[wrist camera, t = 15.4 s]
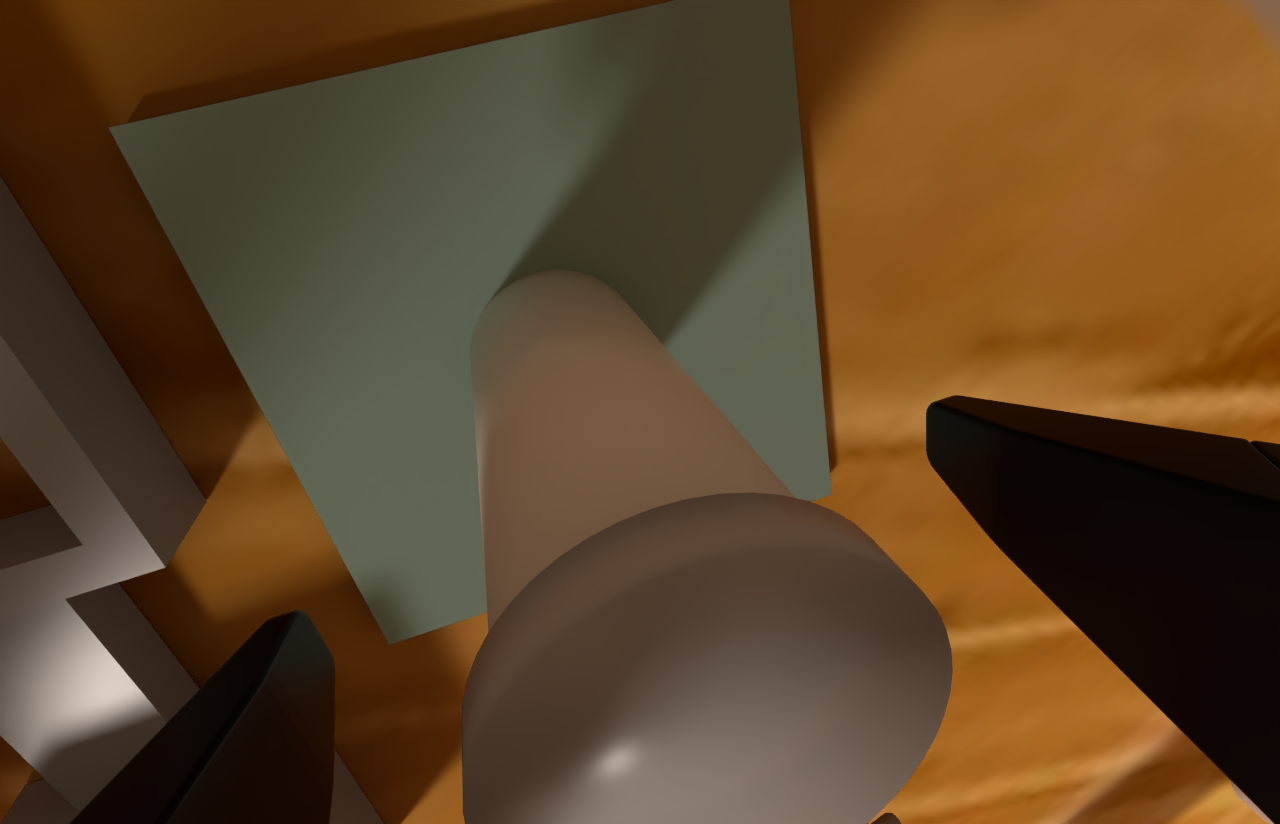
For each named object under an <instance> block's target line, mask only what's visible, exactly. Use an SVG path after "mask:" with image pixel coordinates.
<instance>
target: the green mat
mask: <svg viewBox="0 0 1280 824" xmlns="http://www.w3.org/2000/svg"><path fill="white" fill-rule="evenodd" d="M109 130H110V132H111V134H112V135H113V137H114V139H115V141H116V143H117V145H118V146H119V148H120V150H121V152H122V154H123V156H124V158H125V159H126V161H127V163H128V165H129V167H130V169H131V170H132V172H133V174H134V176H135V178H136V180H137V182H138V183H139V185H140V187H141V189H142V191H143V193H144V194H145V196H146V198H147V200H148V202H149V204H150V205H151V207H152V209H153V211H154V213H155V215H156V217H157V218H158V220H159V222H160V224H161V226H162V228H163V229H164V231H165V233H166V235H167V237H168V239H169V240H170V242H171V244H172V246H173V248H174V250H175V252H176V253H177V255H178V257H179V259H180V261H181V263H182V264H183V266H184V268H185V270H186V272H187V274H188V276H189V277H190V279H191V281H192V283H193V285H194V287H195V288H196V290H197V292H198V294H199V296H200V298H201V299H202V301H203V303H204V305H205V307H206V309H207V311H208V312H209V314H210V316H211V318H212V320H213V322H214V323H215V325H216V327H217V329H218V331H219V333H220V334H221V336H222V338H223V340H224V342H225V344H226V346H227V347H228V349H229V351H230V353H231V355H232V357H233V358H234V360H235V362H236V364H237V366H238V368H239V369H240V371H241V373H242V375H243V377H244V379H245V381H246V382H247V384H248V386H249V388H250V390H251V392H252V393H253V395H254V397H255V399H256V401H257V403H258V405H259V406H260V408H261V410H262V412H263V414H264V416H265V417H266V419H267V421H268V423H269V425H270V427H271V428H272V430H273V432H274V434H275V436H276V438H277V440H278V441H279V443H280V445H281V447H282V449H283V451H284V452H285V454H286V456H287V458H288V460H289V462H290V463H291V465H292V467H293V469H294V471H295V473H296V475H297V476H298V478H299V480H300V482H301V484H302V486H303V487H304V489H305V491H306V493H307V495H308V497H309V498H310V500H311V502H312V504H313V506H314V508H315V510H316V511H317V513H318V515H319V517H320V519H321V521H322V522H323V524H324V526H325V528H326V530H327V532H328V534H329V535H330V537H331V539H332V541H333V543H334V545H335V546H336V548H337V550H338V552H339V554H340V556H341V557H342V559H343V561H344V563H345V565H346V567H347V569H348V570H349V572H350V574H351V576H352V578H353V580H354V581H355V583H356V585H357V587H358V589H359V591H360V592H361V594H362V596H363V598H364V600H365V602H366V604H367V605H368V607H369V609H370V611H371V613H372V615H373V616H374V618H375V620H376V622H377V624H378V626H379V627H380V629H381V631H382V633H383V635H384V637H385V639H386V640H387V642H388V644H389V645H391V644H394V643H397V642H400V641H403V640H406V639H409V638H412V637H415V636H418V635H421V634H424V633H426V632H429V631H432V630H435V629H438V628H441V627H444V626H447V625H450V624H453V623H456V622H459V621H462V620H465V619H467V618H470V617H473V616H476V615H479V614H482V613H485V612H487V598H486V583H485V568H484V554H483V539H482V524H481V510H480V495H479V480H478V465H477V451H476V436H475V421H474V406H473V392H472V377H471V362H470V347H471V340H472V335H473V332H474V328H475V325H476V323H477V321H478V319H479V317H480V315H481V313H482V312H483V310H484V309H485V307H486V305H487V304H488V303H489V302H490V301H491V300H492V298H493V297H494V296H495V295H496V294H498V293H499V292H500V291H501V290H502V289H503V288H505V287H506V286H508V285H509V284H511V283H512V282H514V281H516V280H518V279H520V278H522V277H524V276H527V275H530V274H533V273H537V272H541V271H546V270H571V271H576V272H581V273H584V274H587V275H590V276H593V277H595V278H597V279H599V280H601V281H603V282H604V283H606V284H607V285H609V286H610V287H612V288H613V289H614V290H615V291H616V292H617V293H618V294H619V295H620V296H621V297H622V298H623V299H624V300H625V301H626V303H627V304H628V305H629V306H630V307H631V308H632V310H633V311H634V312H635V313H636V314H637V315H638V316H639V318H640V319H641V320H642V321H643V322H644V323H645V325H646V326H647V327H648V328H649V329H650V330H651V331H652V333H653V334H654V335H655V336H656V337H657V338H658V340H659V341H660V342H661V343H662V344H663V345H664V347H665V348H666V349H667V350H668V351H669V352H670V353H671V355H672V356H673V357H674V358H675V359H676V360H677V362H678V363H679V364H680V365H681V366H682V367H683V369H684V370H685V371H686V372H687V373H688V374H689V375H690V377H691V378H692V379H693V380H694V381H695V382H696V384H697V385H698V386H699V387H700V388H701V389H702V390H703V392H704V393H705V394H706V395H707V396H708V397H709V399H710V400H711V401H712V402H713V403H714V404H715V406H716V407H717V408H718V409H719V410H720V411H721V412H722V414H723V415H724V416H725V417H726V418H727V419H728V421H729V422H730V423H731V424H732V425H733V426H734V427H735V429H736V430H737V431H738V432H739V433H740V434H741V436H742V437H743V438H744V439H745V440H746V441H747V443H748V444H749V445H750V446H751V447H752V448H753V449H754V451H755V452H756V453H757V454H758V455H759V456H760V458H761V459H762V460H763V461H764V462H765V463H766V465H767V466H768V467H769V468H770V469H771V470H772V471H773V473H774V474H775V475H776V476H777V477H778V478H779V480H780V481H781V482H782V483H783V484H784V485H785V486H786V488H787V489H788V490H789V491H790V492H791V493H792V495H793V496H794V497H795V498H797V499H802V500H806V501H810V502H811V501H814V500H816V499H819V498H822V497H825V496H828V495H831V494H832V492H831V480H830V468H829V457H828V445H827V433H826V422H825V410H824V398H823V386H822V375H821V363H820V351H819V340H818V328H817V316H816V304H815V293H814V281H813V269H812V257H811V246H810V234H809V222H808V211H807V199H806V187H805V175H804V164H803V152H802V140H801V129H800V117H799V105H798V93H797V82H796V70H795V58H794V46H793V35H792V23H791V11H790V0H674V1H670V2H665V3H661V4H656V5H652V6H647V7H643V8H639V9H634V10H630V11H625V12H621V13H616V14H612V15H607V16H603V17H599V18H594V19H590V20H585V21H581V22H576V23H572V24H567V25H563V26H558V27H554V28H550V29H545V30H541V31H536V32H532V33H527V34H523V35H518V36H514V37H510V38H505V39H501V40H496V41H492V42H487V43H483V44H478V45H474V46H470V47H465V48H461V49H456V50H452V51H447V52H443V53H438V54H434V55H430V56H425V57H421V58H416V59H412V60H407V61H403V62H398V63H394V64H390V65H385V66H381V67H376V68H372V69H367V70H363V71H358V72H354V73H350V74H345V75H341V76H336V77H332V78H327V79H323V80H318V81H314V82H310V83H305V84H301V85H296V86H292V87H287V88H283V89H278V90H274V91H270V92H265V93H261V94H256V95H252V96H247V97H243V98H238V99H234V100H230V101H225V102H221V103H216V104H212V105H207V106H203V107H198V108H194V109H189V110H185V111H181V112H176V113H172V114H167V115H163V116H158V117H154V118H149V119H145V120H141V121H136V122H132V123H127V124H123V125H118V126H114V127H109Z"/></svg>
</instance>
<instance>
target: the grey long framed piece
mask: <svg viewBox="0 0 1280 824" xmlns="http://www.w3.org/2000/svg"><path fill="white" fill-rule="evenodd" d="M0 438H1V439H2V441H3V442H4V443H5V445H6V446H7V447H8V448H9V450H10V451H11V452H12V454H13V455H14V456H15V458H16V459H17V460H18V461H19V463H20V464H21V465H22V467H23V468H24V469H25V471H26V472H27V473H28V474H29V476H30V477H31V478H32V480H33V481H34V482H35V483H36V485H37V486H38V487H39V489H40V490H41V491H42V493H43V494H44V495H45V496H46V498H47V499H48V500H49V502H50V503H51V504H52V505H49V506H45V507H42V508H39V509H35V510H32V511H28V512H25V513H22V514H18V515H15V516H11V517H8V518H5V519H1V520H0V736H1V737H2V738H3V739H4V740H5V741H6V742H7V743H8V744H9V745H10V746H12V747H13V748H14V749H15V750H16V751H17V752H18V753H19V754H20V755H21V756H22V757H23V758H24V759H25V760H26V761H27V762H28V763H29V764H30V765H31V766H32V767H33V768H34V769H35V770H36V771H37V772H38V773H39V774H40V775H41V776H42V777H43V778H44V779H41V780H39V781H36V782H33V783H30V784H27V785H25V786H24V788H23V789H22V791H21V792H20V794H19V796H18V797H17V799H16V800H15V802H14V804H13V805H12V807H11V808H10V810H9V812H8V813H7V815H6V816H5V818H4V819H3V821H2V823H1V824H69V823H70V822H71V821H72V820H73V819H74V818H75V817H76V816H77V815H78V814H79V813H80V812H81V811H82V810H83V809H84V808H85V807H86V806H87V805H88V804H89V802H90V801H91V800H92V799H93V798H94V797H95V796H96V795H97V794H98V793H99V792H100V791H101V790H102V789H103V788H104V787H105V786H106V785H107V784H108V783H109V782H110V781H111V780H112V779H113V778H114V777H115V776H116V775H117V774H118V773H119V772H120V771H121V770H122V769H123V768H124V767H125V765H126V764H127V763H128V762H129V761H130V760H131V759H132V758H133V757H134V756H135V755H136V754H137V753H138V752H139V751H140V750H141V749H142V748H143V747H144V746H145V745H146V744H147V743H148V742H149V741H150V740H151V739H152V738H153V737H154V736H155V735H156V734H157V733H158V732H159V731H160V729H161V728H162V727H163V726H164V725H165V724H166V723H167V722H168V721H169V720H170V719H171V718H172V717H173V716H174V715H175V714H176V713H177V712H178V711H179V710H180V709H181V708H182V707H183V706H184V705H185V704H186V703H187V702H188V701H189V700H190V699H191V698H192V697H193V696H194V695H195V694H196V692H197V691H198V690H199V687H198V686H197V685H196V683H195V682H194V681H193V679H192V678H191V677H190V676H189V674H188V673H187V672H186V670H185V669H184V668H183V666H182V665H181V664H180V663H179V661H178V660H177V659H176V657H175V656H174V655H173V653H172V652H171V651H170V649H169V648H168V647H167V646H166V644H165V643H164V642H163V640H162V639H161V638H160V636H159V635H158V634H157V633H156V631H155V630H154V629H153V627H152V626H151V625H150V623H149V622H148V621H147V619H146V618H145V617H144V616H143V614H142V613H141V612H140V610H139V609H138V608H137V606H136V605H135V604H134V602H133V601H132V600H131V599H130V597H129V596H128V595H127V593H126V592H125V591H124V589H123V588H122V587H121V586H120V584H119V583H118V582H121V581H124V580H127V579H131V578H134V577H137V576H140V575H143V574H147V573H150V572H153V571H156V570H159V569H163V568H166V566H167V565H168V563H169V561H170V560H171V558H172V557H173V555H174V553H175V552H176V550H177V548H178V547H179V545H180V544H181V542H182V540H183V539H184V537H185V536H186V534H187V532H188V531H189V529H190V527H191V526H192V524H193V523H194V521H195V519H196V518H197V516H198V514H199V513H200V511H201V510H202V508H203V506H204V505H205V503H206V502H207V501H206V499H205V498H204V496H203V495H202V493H201V491H200V490H199V488H198V487H197V485H196V484H195V482H194V480H193V479H192V477H191V476H190V474H189V473H188V471H187V469H186V468H185V466H184V465H183V463H182V462H181V460H180V458H179V457H178V455H177V454H176V452H175V450H174V449H173V447H172V446H171V444H170V443H169V441H168V439H167V438H166V436H165V435H164V433H163V432H162V430H161V428H160V427H159V425H158V424H157V422H156V421H155V419H154V417H153V416H152V414H151V413H150V411H149V409H148V408H147V406H146V405H145V403H144V402H143V400H142V398H141V397H140V395H139V394H138V392H137V391H136V389H135V387H134V386H133V384H132V383H131V381H130V380H129V378H128V376H127V375H126V373H125V372H124V370H123V368H122V367H121V365H120V364H119V362H118V361H117V359H116V357H115V356H114V354H113V353H112V351H111V350H110V348H109V346H108V345H107V343H106V342H105V340H104V339H103V337H102V335H101V334H100V332H99V331H98V329H97V327H96V326H95V324H94V323H93V321H92V320H91V318H90V316H89V315H88V313H87V312H86V310H85V309H84V307H83V305H82V304H81V302H80V301H79V299H78V298H77V296H76V294H75V293H74V291H73V290H72V288H71V286H70V285H69V283H68V282H67V280H66V279H65V277H64V275H63V274H62V272H61V271H60V269H59V268H58V266H57V264H56V263H55V261H54V260H53V258H52V257H51V255H50V253H49V252H48V250H47V249H46V247H45V245H44V244H43V242H42V241H41V239H40V238H39V236H38V234H37V233H36V231H35V230H34V228H33V227H32V225H31V223H30V222H29V220H28V219H27V217H26V216H25V214H24V212H23V211H22V209H21V208H20V206H19V204H18V203H17V201H16V200H15V198H14V197H13V195H12V193H11V192H10V190H9V189H8V187H7V186H6V184H5V182H4V181H3V179H2V178H1V176H0ZM329 824H384V823H383V821H382V820H381V818H380V817H379V815H378V814H377V812H376V811H375V809H374V808H373V806H372V805H371V803H370V802H369V800H368V799H367V797H366V796H365V794H364V793H363V791H362V790H361V788H360V787H359V785H358V784H357V782H356V781H355V779H354V778H353V776H352V775H351V773H350V772H349V770H348V769H347V767H346V766H345V764H344V763H343V761H342V760H341V758H340V757H339V755H338V754H337V752H336V751H335V764H334V785H333V796H332V805H331V813H330V821H329Z"/></svg>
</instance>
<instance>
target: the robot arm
mask: <svg viewBox="0 0 1280 824" xmlns="http://www.w3.org/2000/svg"><path fill="white" fill-rule="evenodd" d="M926 452H927V457H928V459H929V462H930V464H931V466H932V467H933V468H934V470H935V471H936V472H937V473H938V475H939V476H940V477H941V478H942V480H943V481H944V482H945V483H946V485H947V486H948V487H949V488H950V490H951V491H952V492H953V493H954V494H955V496H956V497H957V498H958V499H959V501H960V502H961V503H962V504H963V506H964V507H965V508H966V509H967V511H968V512H969V513H970V514H971V515H972V517H973V518H974V519H975V520H976V522H977V523H978V524H979V525H980V527H981V528H982V529H983V530H984V531H985V533H986V534H987V535H988V536H989V537H990V538H991V539H992V541H993V542H994V543H995V544H996V545H997V546H998V547H999V548H1000V549H1001V550H1002V551H1003V552H1004V554H1005V555H1006V556H1007V557H1008V558H1009V559H1010V560H1011V561H1012V562H1013V563H1014V564H1015V565H1016V566H1017V567H1018V568H1019V569H1020V570H1021V571H1022V572H1023V573H1024V574H1025V575H1026V576H1027V577H1028V578H1029V579H1030V580H1031V581H1032V582H1033V583H1034V584H1035V585H1036V586H1037V587H1038V588H1039V589H1040V590H1041V591H1042V592H1043V593H1044V594H1045V595H1046V596H1047V597H1048V598H1049V599H1050V600H1051V601H1052V602H1053V603H1054V604H1055V605H1056V606H1057V607H1058V608H1059V609H1060V610H1061V611H1062V612H1063V613H1064V614H1065V615H1066V616H1067V617H1068V618H1069V619H1070V620H1071V621H1072V622H1073V623H1074V624H1075V625H1076V626H1077V627H1078V628H1079V629H1080V630H1081V631H1082V632H1083V633H1084V634H1085V635H1086V636H1087V637H1088V638H1089V639H1090V640H1091V641H1092V642H1093V643H1094V644H1095V645H1096V646H1097V647H1098V648H1099V649H1100V650H1101V651H1102V652H1103V653H1104V654H1105V655H1106V656H1107V657H1108V658H1109V659H1110V660H1111V661H1112V662H1113V663H1114V664H1115V665H1116V666H1117V667H1118V668H1119V669H1120V670H1121V671H1122V672H1123V673H1124V674H1125V675H1126V676H1127V677H1128V678H1129V679H1130V680H1131V681H1132V682H1133V683H1134V684H1135V685H1136V686H1137V687H1138V688H1139V689H1140V690H1141V691H1142V692H1143V693H1144V694H1145V695H1146V696H1147V697H1148V698H1149V699H1150V700H1151V701H1152V702H1153V703H1154V704H1155V705H1156V706H1157V707H1158V708H1159V709H1160V710H1161V711H1162V712H1163V713H1164V714H1165V715H1166V716H1167V717H1168V718H1169V719H1170V720H1171V721H1172V722H1173V723H1174V724H1175V725H1176V726H1177V727H1178V728H1179V729H1180V730H1181V731H1182V732H1183V733H1184V734H1185V735H1186V736H1187V737H1188V738H1189V739H1190V740H1191V741H1192V742H1193V743H1194V744H1195V745H1196V746H1197V747H1198V748H1199V749H1200V750H1201V751H1202V752H1203V753H1204V754H1205V755H1206V756H1207V757H1208V758H1209V759H1210V760H1211V761H1212V762H1213V763H1214V764H1215V765H1216V766H1217V767H1218V768H1219V769H1220V770H1221V771H1222V772H1223V773H1224V774H1225V775H1226V776H1227V777H1228V778H1229V779H1230V780H1231V781H1232V782H1233V783H1234V784H1235V785H1236V786H1237V787H1238V788H1239V789H1240V790H1241V791H1242V792H1243V793H1244V794H1245V795H1246V796H1247V797H1248V798H1249V799H1250V800H1251V801H1252V802H1253V803H1254V804H1255V805H1256V806H1257V807H1258V808H1259V809H1260V810H1261V811H1262V812H1263V813H1264V814H1265V815H1266V816H1267V817H1268V818H1269V819H1270V820H1271V821H1272V822H1273V823H1274V824H1280V444H1275V443H1268V442H1262V441H1252V442H1249V441H1248V440H1246V439H1241V438H1234V437H1228V436H1221V435H1215V434H1208V433H1202V432H1195V431H1189V430H1182V429H1175V428H1169V427H1162V426H1156V425H1149V424H1143V423H1136V422H1130V421H1123V420H1117V419H1110V418H1103V417H1097V416H1090V415H1084V414H1077V413H1071V412H1064V411H1058V410H1051V409H1044V408H1038V407H1031V406H1025V405H1018V404H1012V403H1005V402H999V401H992V400H985V399H979V398H972V397H966V396H959V395H956V396H950V397H947V398H944V399H941V400H938V401H935V402H933V403H931V404H930V405H929V406H928V409H927V412H926ZM334 764H335V665H334V660H333V657H332V654H331V652H330V650H329V649H328V647H327V645H326V644H325V642H324V640H323V639H322V637H321V635H320V634H319V632H318V630H317V629H316V627H315V625H314V624H313V622H312V620H311V619H310V617H309V616H308V615H307V614H306V613H305V612H304V611H301V610H295V611H292V612H289V613H286V614H283V615H279V616H276V617H273V618H270V619H269V620H267V621H266V622H265V623H264V624H263V625H262V626H261V627H260V628H259V629H258V630H257V631H256V632H255V633H254V634H253V635H252V636H251V637H250V638H249V639H248V640H247V641H246V642H245V643H244V644H243V645H242V646H241V647H240V648H239V649H238V650H237V651H236V652H235V653H234V654H233V655H232V656H231V658H230V659H229V660H228V661H227V662H226V663H225V664H224V665H223V666H222V667H221V668H220V669H219V670H218V671H217V672H216V673H215V674H214V675H213V676H212V677H211V678H210V679H209V680H208V681H207V682H206V683H205V684H204V685H203V686H202V687H201V688H200V689H199V690H198V691H197V692H196V694H195V695H194V696H193V697H192V698H191V699H190V700H189V701H188V702H187V703H186V704H185V705H184V706H183V707H182V708H181V709H180V710H179V711H178V712H177V713H176V714H175V715H174V716H173V717H172V718H171V719H170V720H169V721H168V722H167V723H166V724H165V725H164V726H163V727H162V728H161V729H160V731H159V732H158V733H157V734H156V735H155V736H154V737H153V738H152V739H151V740H150V741H149V742H148V743H147V744H146V745H145V746H144V747H143V748H142V749H141V750H140V751H139V752H138V753H137V754H136V755H135V756H134V757H133V758H132V759H131V760H130V761H129V762H128V763H127V764H126V765H125V767H124V768H123V769H122V770H121V771H120V772H119V773H118V774H117V775H116V776H115V777H114V778H113V779H112V780H111V781H110V782H109V783H108V784H107V785H106V786H105V787H104V788H103V789H102V790H101V791H100V792H99V793H98V794H97V795H96V796H95V797H94V798H93V799H92V800H91V801H90V802H89V804H88V805H87V806H86V807H85V808H84V809H83V810H82V811H81V812H80V813H79V814H78V815H77V816H76V817H75V818H74V819H73V820H72V821H71V822H70V823H69V824H329V821H330V813H331V805H332V796H333V785H334Z"/></svg>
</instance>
